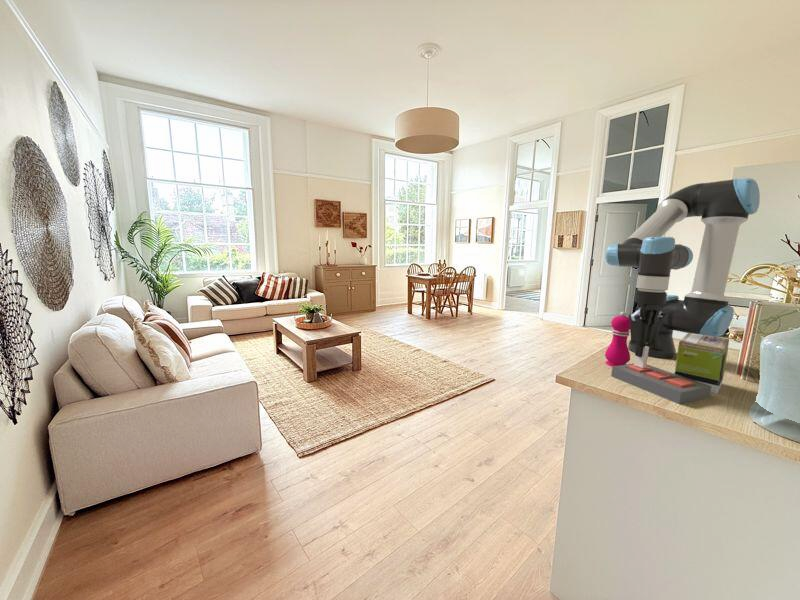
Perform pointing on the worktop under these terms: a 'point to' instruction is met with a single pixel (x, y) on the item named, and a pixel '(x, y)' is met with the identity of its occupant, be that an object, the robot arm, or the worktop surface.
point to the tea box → (702, 359)
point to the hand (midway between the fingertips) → (639, 366)
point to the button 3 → (680, 382)
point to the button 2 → (659, 375)
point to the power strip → (662, 384)
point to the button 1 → (639, 368)
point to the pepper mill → (619, 341)
